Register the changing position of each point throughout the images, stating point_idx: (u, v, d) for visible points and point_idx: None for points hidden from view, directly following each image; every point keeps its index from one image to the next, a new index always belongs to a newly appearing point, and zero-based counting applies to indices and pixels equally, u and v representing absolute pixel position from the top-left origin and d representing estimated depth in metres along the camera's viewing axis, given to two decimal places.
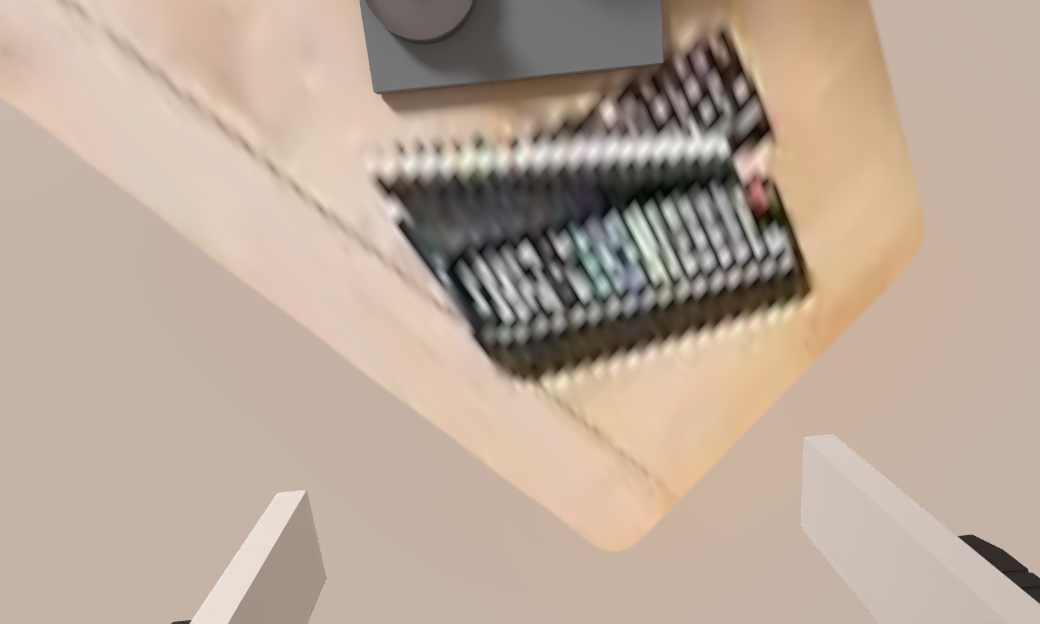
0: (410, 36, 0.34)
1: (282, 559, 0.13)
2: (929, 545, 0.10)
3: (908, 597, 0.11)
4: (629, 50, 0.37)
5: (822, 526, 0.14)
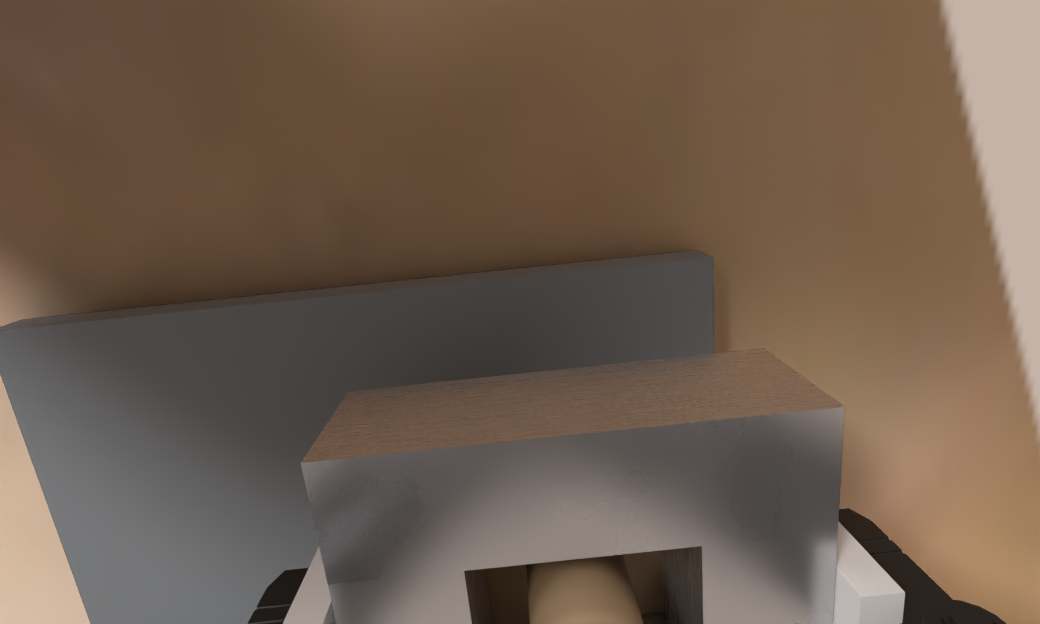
0: None
1: None
2: None
3: None
4: None
5: None
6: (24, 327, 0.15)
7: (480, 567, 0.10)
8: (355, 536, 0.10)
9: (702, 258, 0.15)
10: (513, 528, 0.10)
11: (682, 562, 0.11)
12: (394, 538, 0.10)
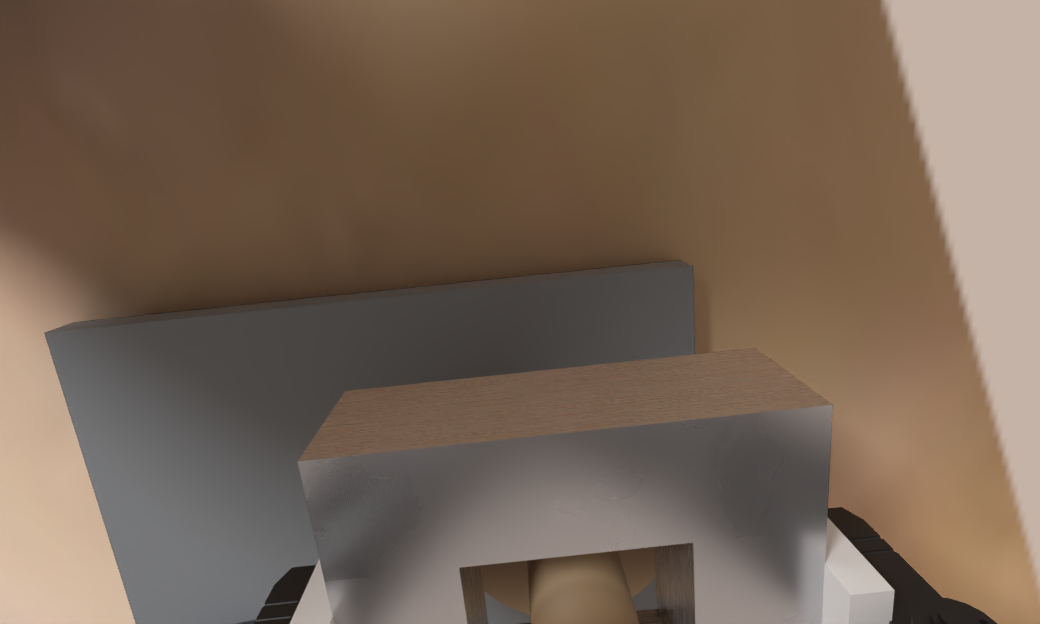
0: None
1: None
2: None
3: None
4: None
5: None
6: (79, 328, 0.17)
7: (475, 564, 0.10)
8: (351, 533, 0.10)
9: (683, 267, 0.17)
10: (507, 525, 0.10)
11: (675, 559, 0.12)
12: (390, 535, 0.10)
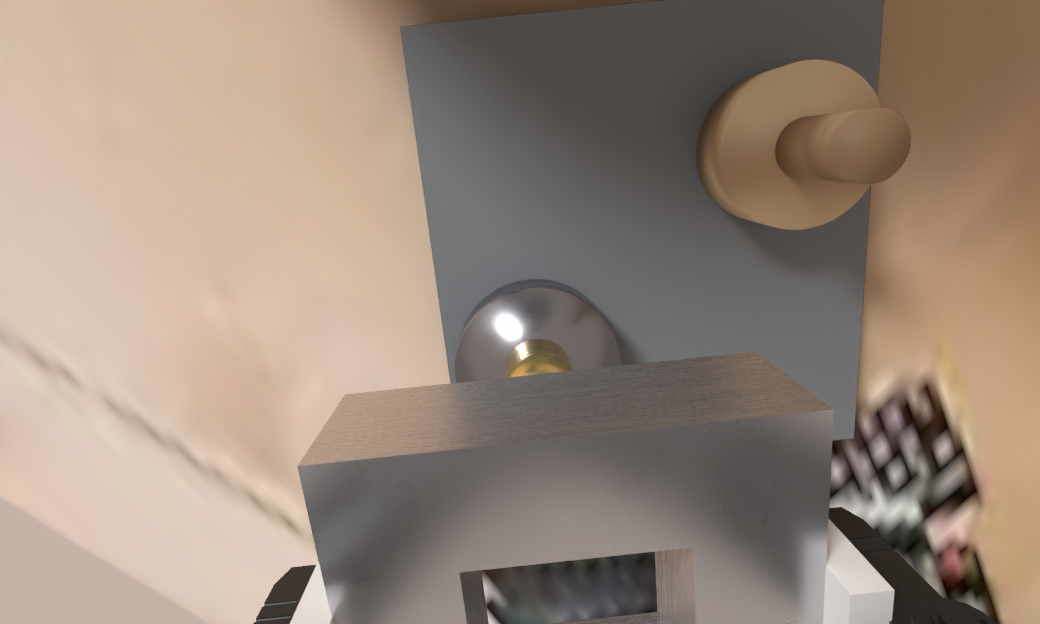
0: None
1: None
2: None
3: None
4: None
5: None
6: (425, 24, 0.22)
7: (475, 568, 0.10)
8: (351, 538, 0.10)
9: None
10: (507, 530, 0.10)
11: (675, 563, 0.12)
12: (390, 540, 0.10)
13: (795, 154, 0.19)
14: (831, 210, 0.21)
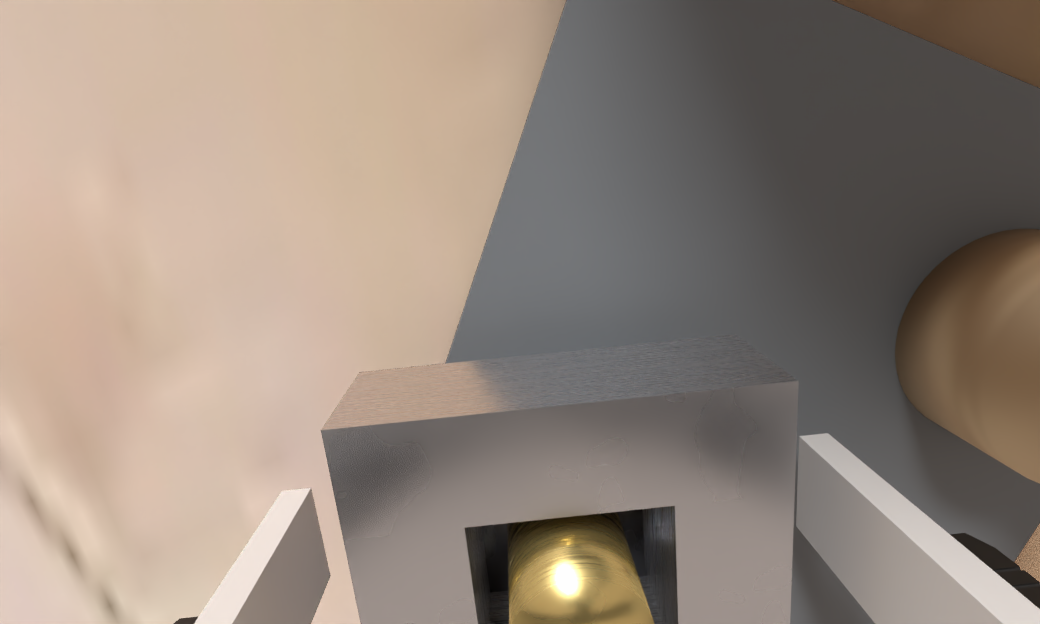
0: None
1: (287, 556, 0.13)
2: (921, 543, 0.11)
3: (901, 595, 0.11)
4: None
5: (817, 525, 0.14)
6: None
7: (478, 524, 0.11)
8: (368, 496, 0.11)
9: None
10: (508, 489, 0.11)
11: (660, 525, 0.13)
12: (402, 498, 0.11)
13: None
14: None
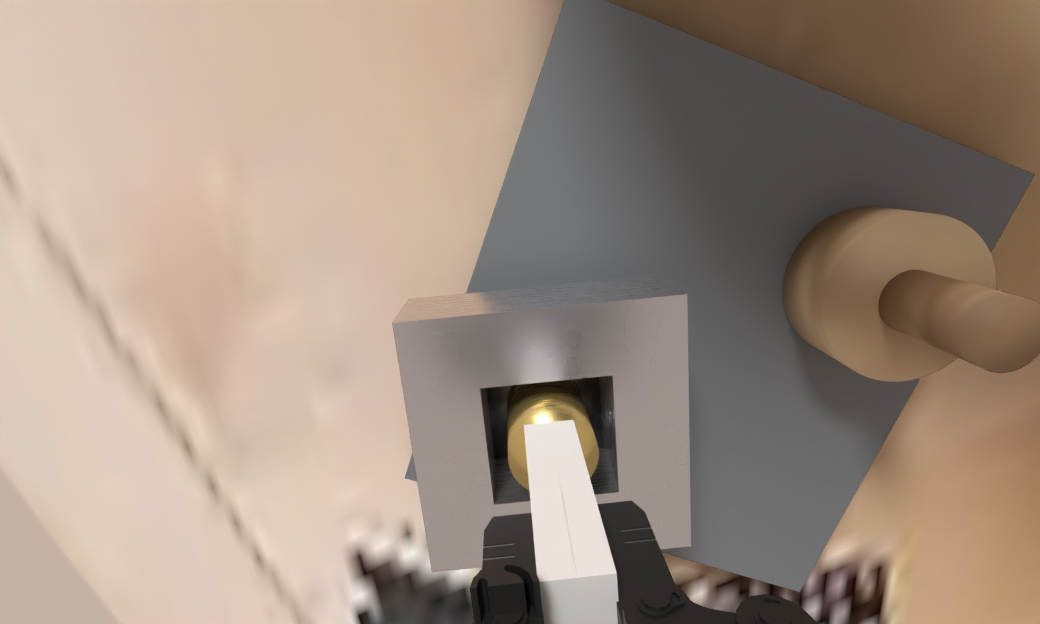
0: None
1: None
2: (569, 506, 0.13)
3: None
4: (766, 563, 0.26)
5: None
6: None
7: (489, 386, 0.18)
8: (420, 366, 0.18)
9: (1028, 172, 0.22)
10: (507, 363, 0.18)
11: (607, 398, 0.19)
12: (441, 368, 0.18)
13: (910, 304, 0.18)
14: (903, 372, 0.20)
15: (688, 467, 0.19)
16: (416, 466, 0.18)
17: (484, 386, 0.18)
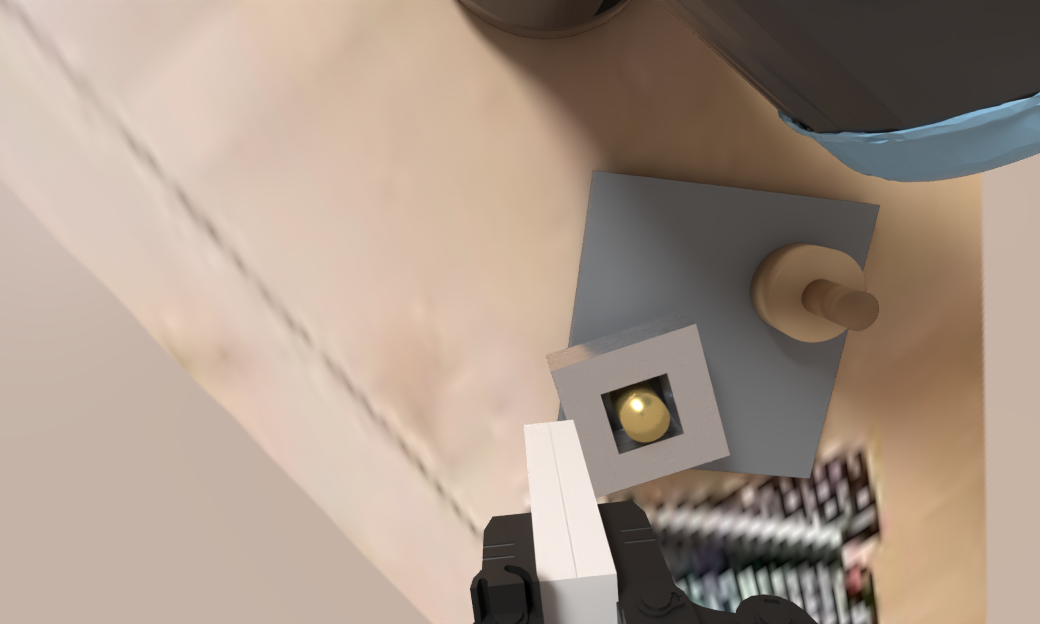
0: None
1: None
2: (568, 506, 0.13)
3: None
4: (783, 464, 0.41)
5: None
6: None
7: (604, 392, 0.34)
8: (568, 390, 0.34)
9: None
10: (611, 378, 0.34)
11: (666, 385, 0.35)
12: (579, 388, 0.34)
13: (814, 301, 0.34)
14: (826, 335, 0.36)
15: (718, 412, 0.35)
16: None
17: (602, 393, 0.34)
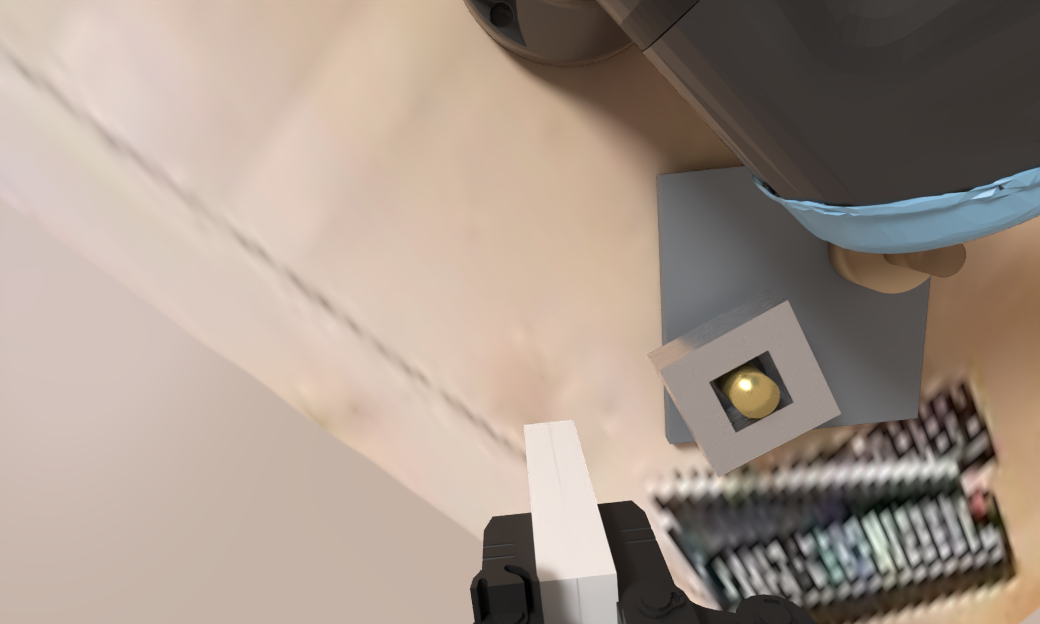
0: None
1: None
2: (568, 506, 0.13)
3: None
4: (889, 409, 0.43)
5: None
6: (675, 173, 0.38)
7: (712, 379, 0.36)
8: (678, 383, 0.36)
9: None
10: (717, 365, 0.36)
11: (767, 360, 0.37)
12: (688, 380, 0.36)
13: (898, 255, 0.35)
14: (913, 282, 0.37)
15: (823, 376, 0.37)
16: (693, 429, 0.37)
17: (710, 380, 0.36)
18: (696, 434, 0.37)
